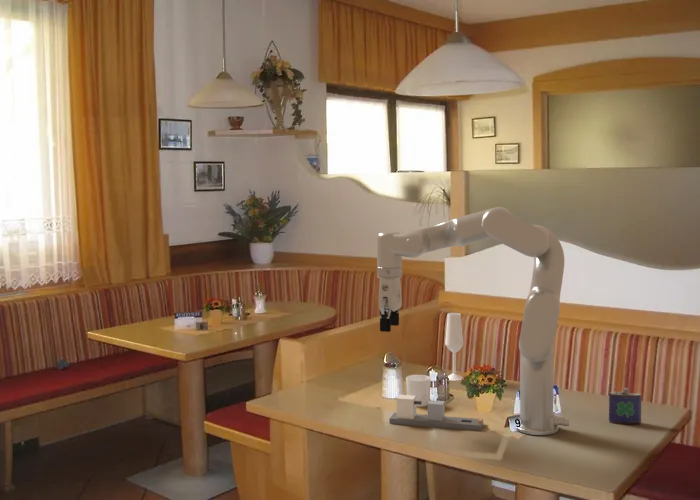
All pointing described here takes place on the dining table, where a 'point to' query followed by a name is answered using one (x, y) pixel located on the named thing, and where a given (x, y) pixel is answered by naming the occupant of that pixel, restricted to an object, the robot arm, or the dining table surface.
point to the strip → (440, 422)
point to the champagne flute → (454, 340)
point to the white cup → (419, 388)
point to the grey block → (436, 410)
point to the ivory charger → (406, 406)
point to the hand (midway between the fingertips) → (389, 328)
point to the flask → (624, 407)
